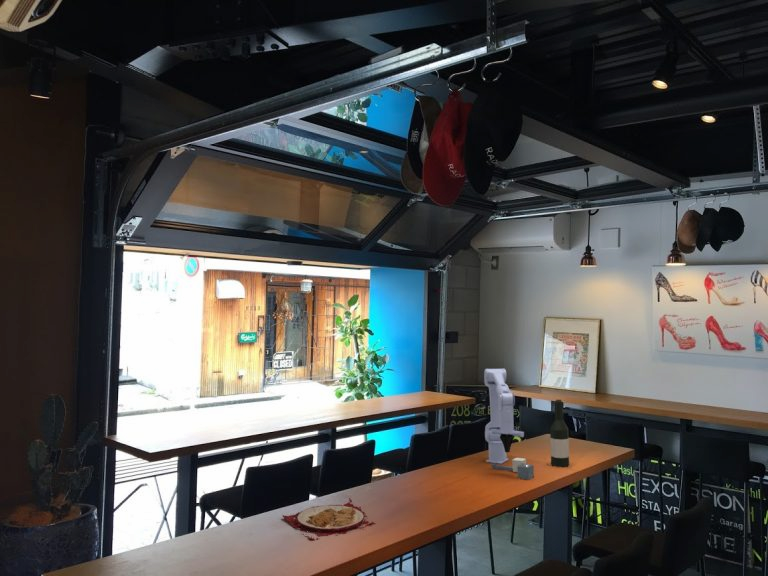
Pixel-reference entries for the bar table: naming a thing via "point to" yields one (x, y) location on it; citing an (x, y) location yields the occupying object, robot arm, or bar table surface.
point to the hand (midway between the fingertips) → (507, 452)
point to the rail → (502, 467)
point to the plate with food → (329, 519)
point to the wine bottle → (559, 438)
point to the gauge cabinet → (525, 471)
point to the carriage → (517, 463)
